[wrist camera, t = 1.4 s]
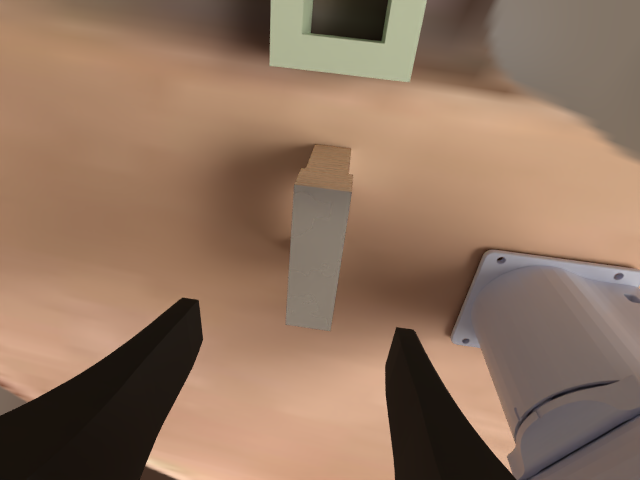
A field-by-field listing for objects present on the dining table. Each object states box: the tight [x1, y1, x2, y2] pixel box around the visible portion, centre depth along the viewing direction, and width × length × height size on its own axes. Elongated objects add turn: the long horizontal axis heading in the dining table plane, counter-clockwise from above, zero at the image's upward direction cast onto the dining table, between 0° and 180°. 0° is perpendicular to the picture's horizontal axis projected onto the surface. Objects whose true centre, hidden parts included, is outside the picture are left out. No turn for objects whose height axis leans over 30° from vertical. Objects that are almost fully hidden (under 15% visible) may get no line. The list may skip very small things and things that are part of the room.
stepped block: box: [286, 144, 353, 331], centre depth 19 cm, size 2×8×6 cm, turn 175°
